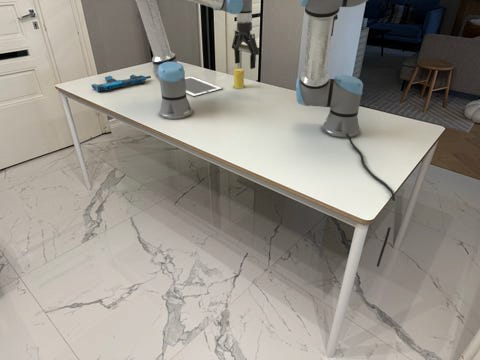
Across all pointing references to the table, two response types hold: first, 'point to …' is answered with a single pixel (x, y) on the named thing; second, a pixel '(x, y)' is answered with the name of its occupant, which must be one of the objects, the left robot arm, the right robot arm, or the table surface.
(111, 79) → the submachine gun
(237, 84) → the cylinder
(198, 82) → the tablet
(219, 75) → the table surface
